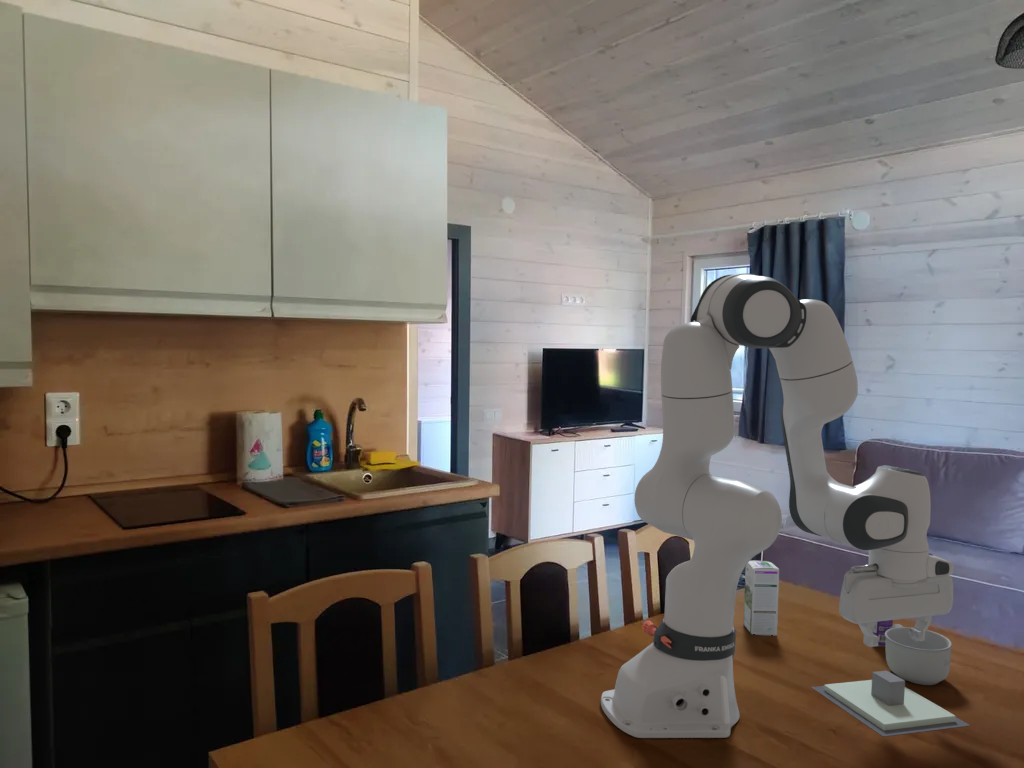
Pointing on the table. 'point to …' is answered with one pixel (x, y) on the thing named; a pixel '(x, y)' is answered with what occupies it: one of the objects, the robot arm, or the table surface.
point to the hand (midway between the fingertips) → (894, 642)
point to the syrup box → (761, 598)
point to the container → (881, 630)
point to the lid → (888, 702)
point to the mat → (895, 731)
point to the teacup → (918, 655)
